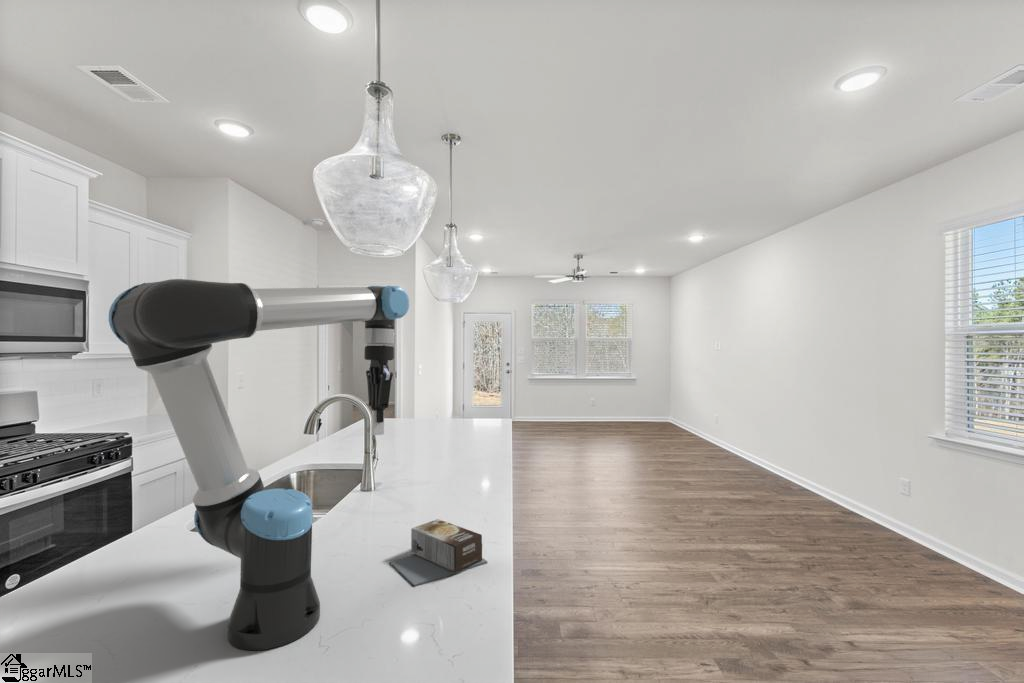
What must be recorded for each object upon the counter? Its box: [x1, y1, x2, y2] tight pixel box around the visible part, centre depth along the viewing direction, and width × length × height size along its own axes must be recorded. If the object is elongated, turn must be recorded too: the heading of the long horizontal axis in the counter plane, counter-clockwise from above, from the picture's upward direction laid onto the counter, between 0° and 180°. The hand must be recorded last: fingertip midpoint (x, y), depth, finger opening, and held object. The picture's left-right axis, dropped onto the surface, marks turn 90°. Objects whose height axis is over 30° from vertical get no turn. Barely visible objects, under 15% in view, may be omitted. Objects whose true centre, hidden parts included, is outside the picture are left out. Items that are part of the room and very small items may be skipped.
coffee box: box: [410, 518, 483, 574], centre depth 112 cm, size 9×6×16 cm
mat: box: [389, 553, 488, 587], centre depth 110 cm, size 19×14×1 cm
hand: (377, 434), depth 121 cm, fingers closed
